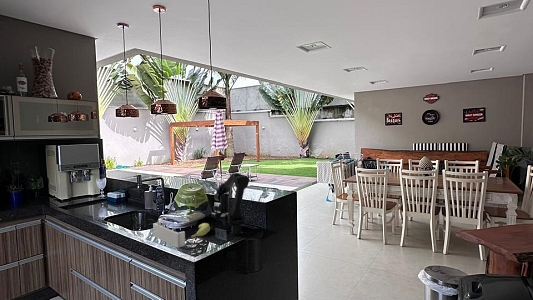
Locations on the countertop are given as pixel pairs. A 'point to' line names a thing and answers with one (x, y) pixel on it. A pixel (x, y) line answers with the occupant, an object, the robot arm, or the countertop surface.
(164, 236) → the rack
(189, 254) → the countertop surface
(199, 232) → the banana
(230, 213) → the robot arm
